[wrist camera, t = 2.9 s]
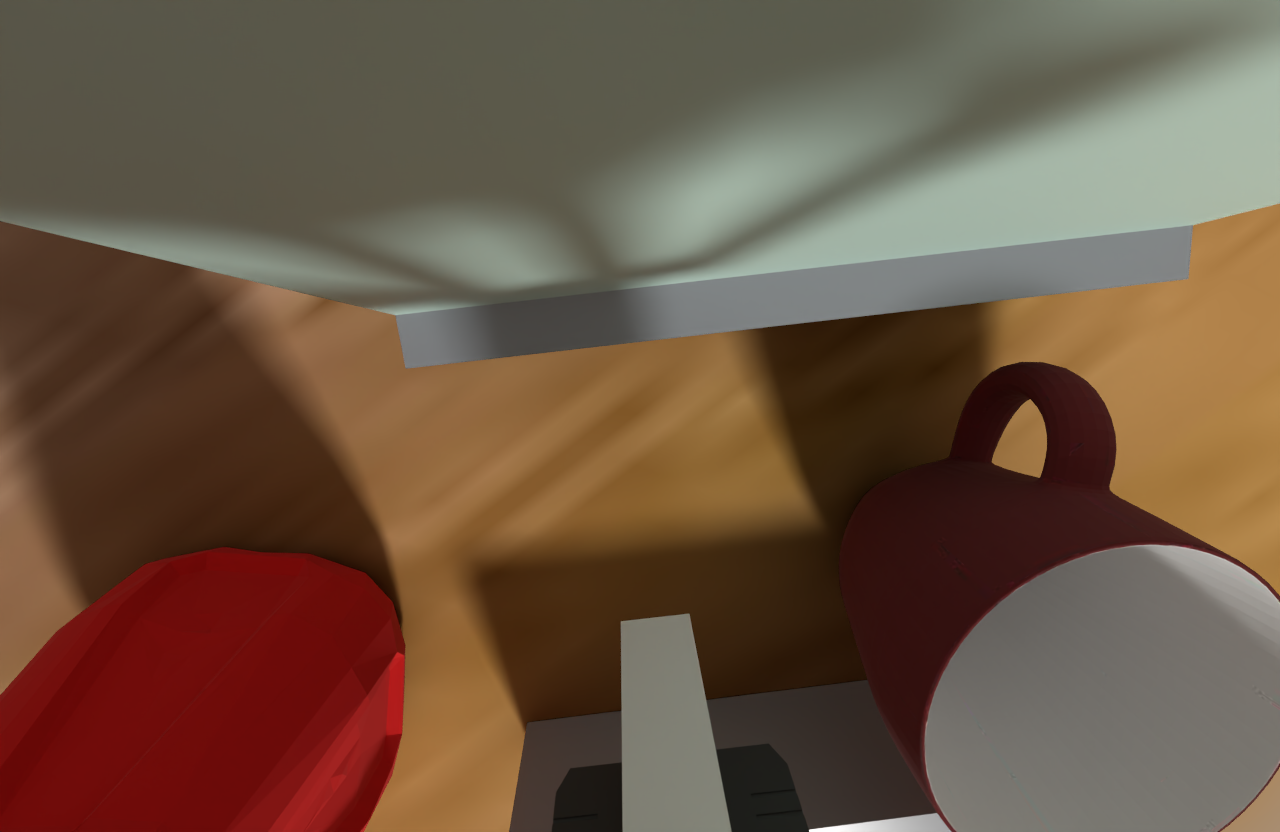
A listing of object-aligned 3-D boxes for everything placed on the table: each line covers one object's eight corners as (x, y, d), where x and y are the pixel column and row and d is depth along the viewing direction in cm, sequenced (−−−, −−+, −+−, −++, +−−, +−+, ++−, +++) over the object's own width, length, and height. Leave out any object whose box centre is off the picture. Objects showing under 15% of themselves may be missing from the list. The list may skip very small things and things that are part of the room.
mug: (799, 338, 22) (953, 413, 12) (1046, 336, 22) (1387, 406, 13) (784, 636, 24) (901, 893, 15) (1006, 629, 25) (1263, 877, 15)
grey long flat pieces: (532, 750, 25) (509, 904, 19) (453, 296, 21) (395, 315, 15) (1019, 689, 25) (1142, 821, 20) (1033, 230, 21) (1193, 225, 16)
